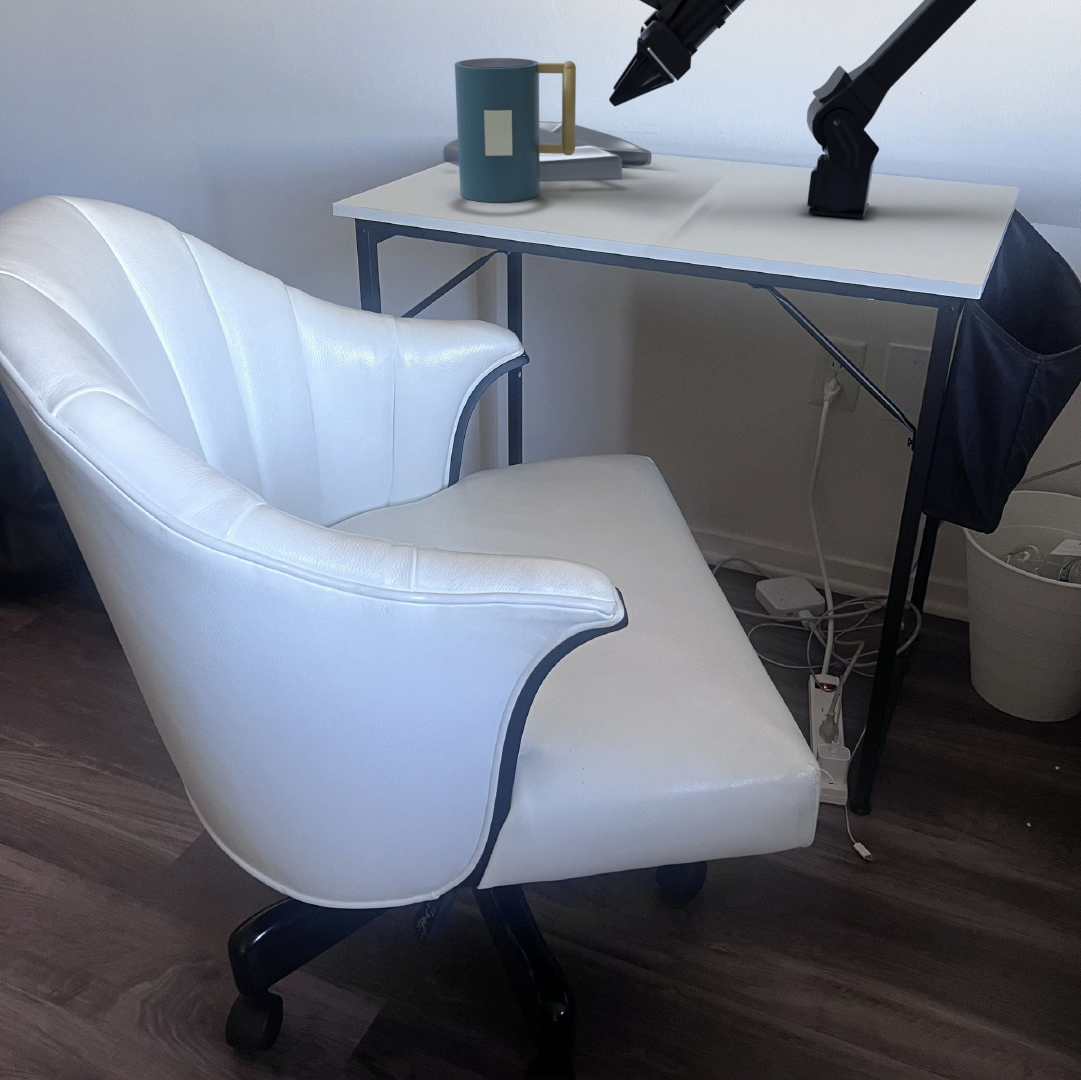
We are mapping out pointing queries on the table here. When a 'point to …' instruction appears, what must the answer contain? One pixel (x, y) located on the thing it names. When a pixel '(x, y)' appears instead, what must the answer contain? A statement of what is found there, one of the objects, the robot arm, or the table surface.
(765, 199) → the table surface
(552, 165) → the emblem
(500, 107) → the teal coffee mug
